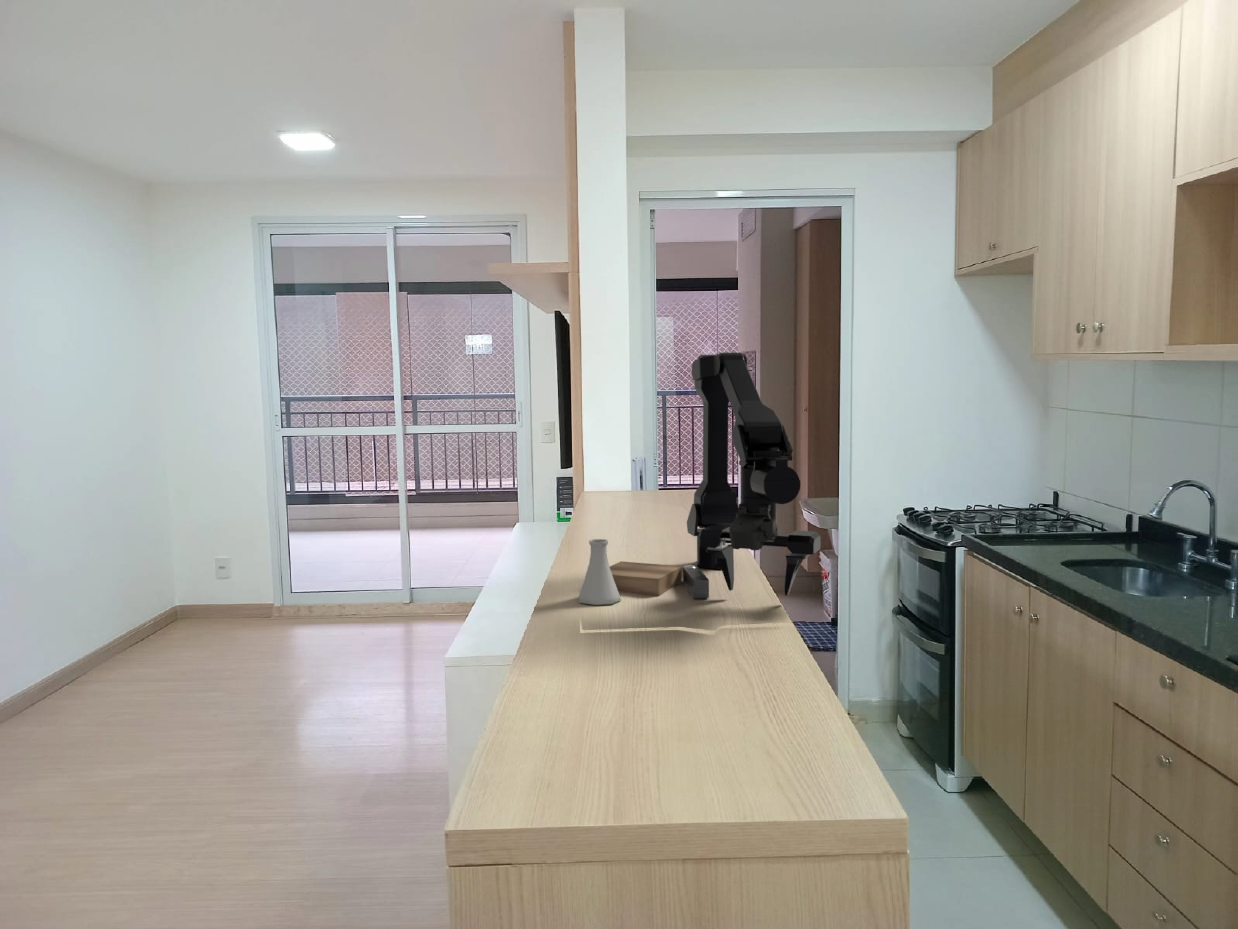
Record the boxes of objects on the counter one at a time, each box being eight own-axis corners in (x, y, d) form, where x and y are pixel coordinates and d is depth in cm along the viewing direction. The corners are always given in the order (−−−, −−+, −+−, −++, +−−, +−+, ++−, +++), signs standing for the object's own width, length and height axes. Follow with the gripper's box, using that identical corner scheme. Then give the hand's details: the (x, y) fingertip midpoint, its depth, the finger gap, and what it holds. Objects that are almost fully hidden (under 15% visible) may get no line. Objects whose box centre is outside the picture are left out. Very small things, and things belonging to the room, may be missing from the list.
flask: (616, 607, 136) (615, 544, 135) (572, 605, 137) (571, 543, 136) (625, 596, 143) (624, 537, 142) (583, 595, 144) (582, 536, 143)
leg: (682, 581, 152) (681, 565, 151) (695, 581, 152) (695, 564, 152) (693, 598, 140) (693, 580, 139) (708, 598, 140) (708, 579, 140)
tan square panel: (621, 577, 157) (621, 561, 157) (682, 583, 152) (682, 566, 151) (594, 590, 147) (593, 573, 147) (658, 596, 142) (658, 579, 142)
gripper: (685, 499, 133) (686, 598, 134) (805, 505, 125) (804, 610, 126) (709, 491, 143) (709, 583, 144) (821, 496, 135) (820, 593, 136)
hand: (758, 592), depth 138 cm, fingers open, 9 cm apart
